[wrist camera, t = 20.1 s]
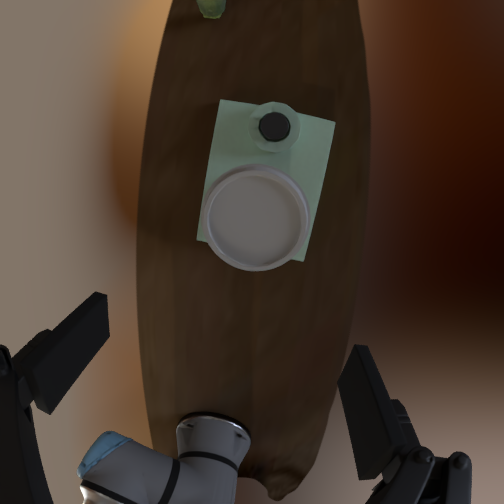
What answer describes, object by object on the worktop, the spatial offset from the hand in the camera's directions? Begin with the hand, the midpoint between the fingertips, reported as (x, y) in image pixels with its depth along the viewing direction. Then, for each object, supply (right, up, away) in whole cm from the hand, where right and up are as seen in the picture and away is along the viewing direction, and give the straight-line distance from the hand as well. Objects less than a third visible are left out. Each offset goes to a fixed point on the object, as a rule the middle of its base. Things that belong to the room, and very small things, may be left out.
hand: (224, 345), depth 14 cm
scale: (+3, +14, +22) cm, 26 cm away
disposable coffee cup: (+2, +11, +21) cm, 24 cm away
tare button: (+4, +19, +17) cm, 26 cm away
